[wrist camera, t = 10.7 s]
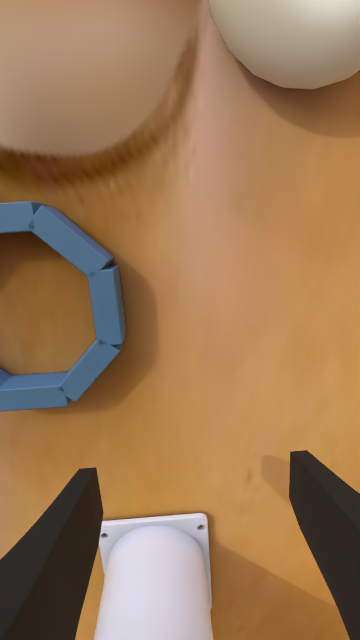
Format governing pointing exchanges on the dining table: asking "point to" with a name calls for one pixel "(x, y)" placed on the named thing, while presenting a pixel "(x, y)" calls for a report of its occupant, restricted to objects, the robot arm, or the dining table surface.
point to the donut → (292, 39)
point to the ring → (105, 298)
